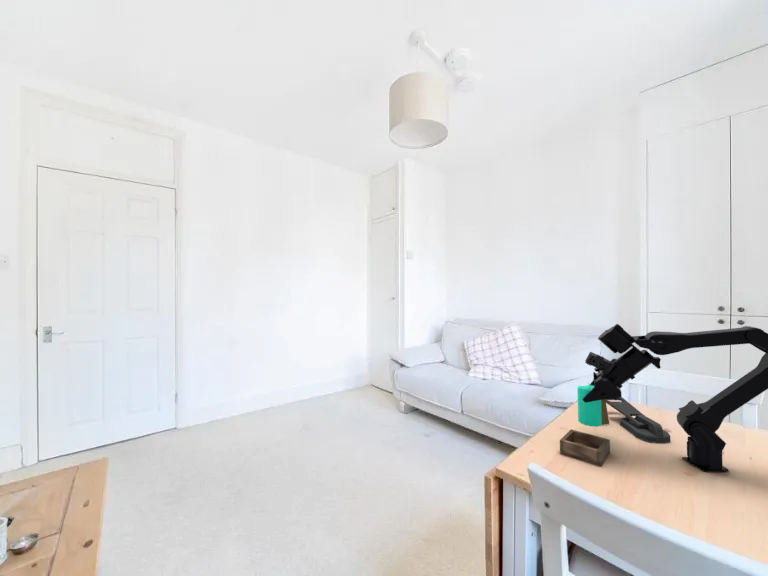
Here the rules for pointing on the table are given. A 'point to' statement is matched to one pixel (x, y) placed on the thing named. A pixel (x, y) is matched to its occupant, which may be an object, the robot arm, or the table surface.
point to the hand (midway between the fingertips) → (583, 398)
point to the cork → (604, 412)
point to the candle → (588, 408)
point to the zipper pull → (639, 423)
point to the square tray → (585, 447)
